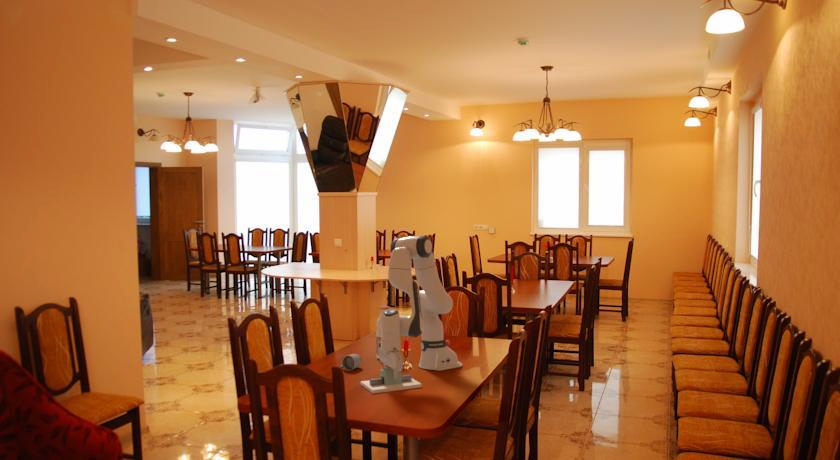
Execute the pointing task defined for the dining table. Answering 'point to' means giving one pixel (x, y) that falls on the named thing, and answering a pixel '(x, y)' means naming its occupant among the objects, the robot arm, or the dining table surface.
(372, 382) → the metal rail
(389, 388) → the mounting board
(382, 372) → the channel block
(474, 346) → the dining table surface
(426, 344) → the robot arm
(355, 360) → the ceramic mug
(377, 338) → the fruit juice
